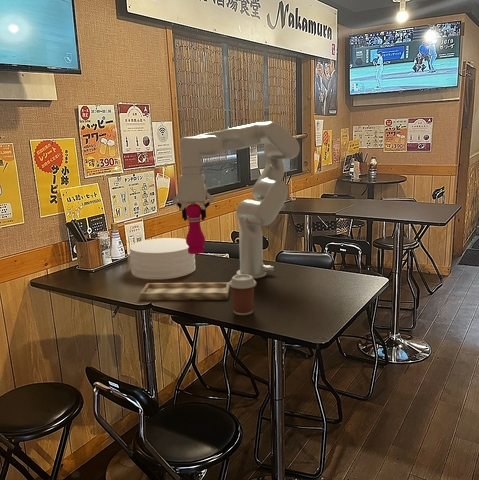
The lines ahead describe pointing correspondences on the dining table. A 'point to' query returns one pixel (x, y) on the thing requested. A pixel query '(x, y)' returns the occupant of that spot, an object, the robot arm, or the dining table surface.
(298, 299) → the dining table surface
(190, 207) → the pepper mill
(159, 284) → the birch tray
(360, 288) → the dining table surface
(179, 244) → the plate stack
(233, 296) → the coffee cup
